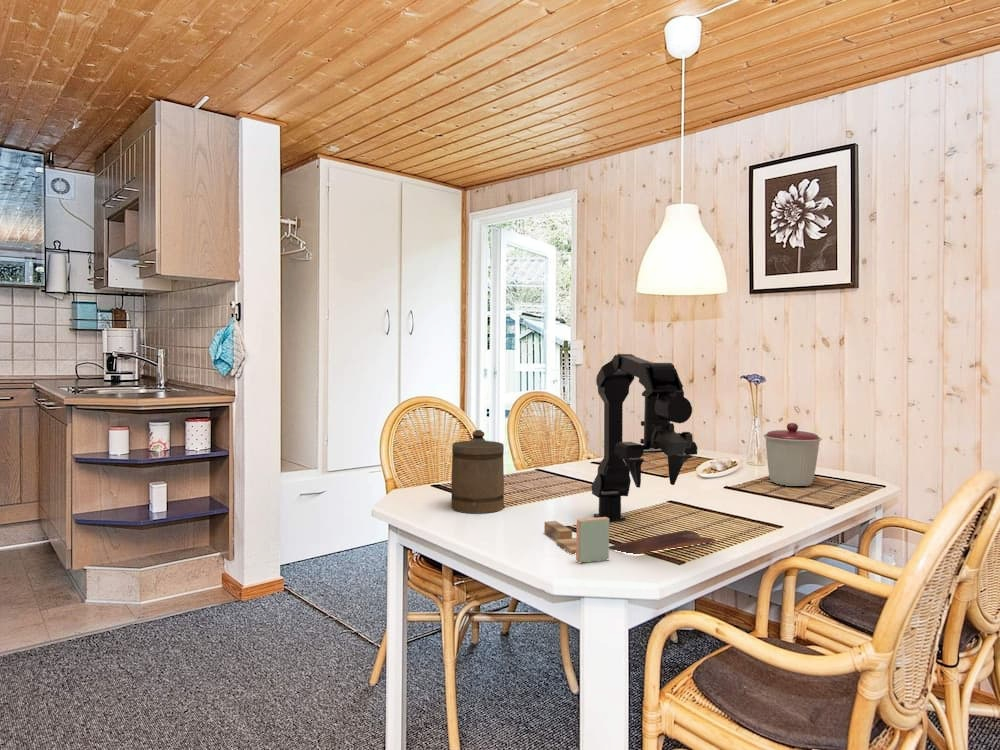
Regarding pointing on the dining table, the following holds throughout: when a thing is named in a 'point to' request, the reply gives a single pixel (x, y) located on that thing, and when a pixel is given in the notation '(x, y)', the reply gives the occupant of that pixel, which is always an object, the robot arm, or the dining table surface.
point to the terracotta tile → (592, 539)
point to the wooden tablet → (662, 542)
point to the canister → (792, 456)
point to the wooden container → (477, 475)
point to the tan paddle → (561, 535)
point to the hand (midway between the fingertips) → (655, 486)
